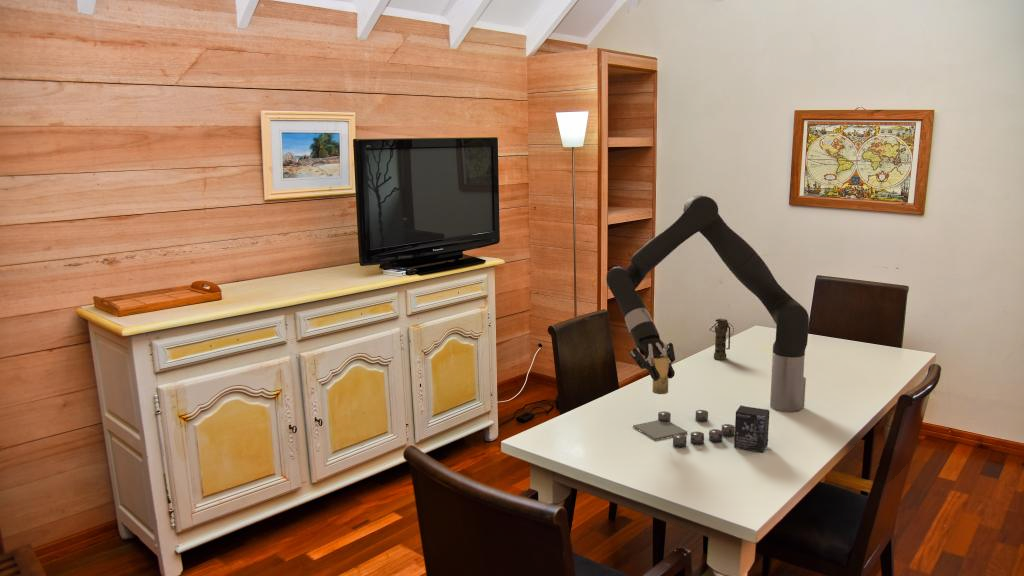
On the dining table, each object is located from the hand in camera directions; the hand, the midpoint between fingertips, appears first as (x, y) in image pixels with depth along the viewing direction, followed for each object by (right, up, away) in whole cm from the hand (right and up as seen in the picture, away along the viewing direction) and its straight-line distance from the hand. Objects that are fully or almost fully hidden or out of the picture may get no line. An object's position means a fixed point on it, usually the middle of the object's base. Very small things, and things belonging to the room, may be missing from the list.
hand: (664, 378), depth 219 cm
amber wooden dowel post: (-1, -4, +3) cm, 5 cm away
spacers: (+8, -16, +4) cm, 18 cm away
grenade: (+35, -1, +71) cm, 79 cm away
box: (+22, -18, -8) cm, 29 cm away
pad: (0, -16, +5) cm, 16 cm away
